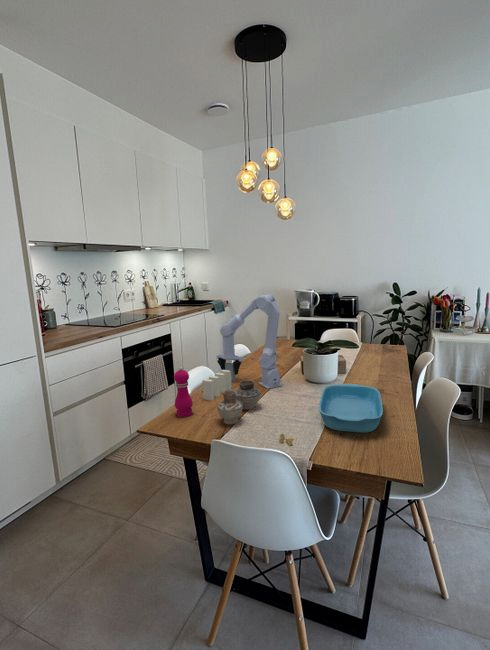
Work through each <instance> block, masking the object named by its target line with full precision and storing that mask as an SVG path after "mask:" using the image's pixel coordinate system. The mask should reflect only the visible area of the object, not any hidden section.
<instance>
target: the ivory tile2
mask: <svg viewBox="0 0 490 650" xmlns="http://www.w3.org/2000/svg"><path fill="white" fill-rule="evenodd" d="M220 373H223V374H225V378H226V390H233V388H232V387H233V386H232V385H233V384H232V381H231V371H228V370H220Z"/></svg>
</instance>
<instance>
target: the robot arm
mask: <svg viewBox="0 0 490 650" xmlns="http://www.w3.org/2000/svg"><path fill="white" fill-rule="evenodd" d="M255 310H261V312H264V314H266V316H267V324H266V325H267V326H266V333H265V340H264V341H265V342H264V347H263V351H262V353H261V356H260V358H259V360H258V361H259V362H258V363H259V366H260V367H261V381H260V382H258V384H260V385H261V386H262V387H264V388H265V389H268V390H269V389H273V388H278V387H282V386H283V385H282V384H281V373H280V371H279V370H278V369H277V364H276V363H277V362H278V354H277V352H278V350H277V348H276V345H277V338H278V329H279V322H280V314H281V313H280V309H279V307H278V304H277V298H275V297H274V296H273V295H272V294H270V293H266V294H262V295H258V296H257V297H256V298H255V299H253V300H252V301H251V302H250V303H249V304H248V305H247V306H246V307H245V308H244V310H242V311H241V313H240V314H239V313H237V314H233V315H232V316H231V317H232V318H231V319H230V320H229V321H226V324H223V325H222V326H221V327H220V329H219V330H220V331H219V332H220V335H221V336H222V352H223V354H218V353H217V354H216V359H217V362H216V363H218V365H219V367H220V369H221V370H225V363H227V361H233V362H232V363H233V365H234V372H235V376H237V375H239V370H240V367H241V364H242V362H243V358H244V357H243V356H239V355H236V353H235V333H236V332H237V330H238V329H239V328H240V327H241V326H242V325H244V323H245V319H246V318H247V317H249V316H250V315H251V314H252V313H253V312H254V311H255ZM221 370H220V371H221Z"/></svg>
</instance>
